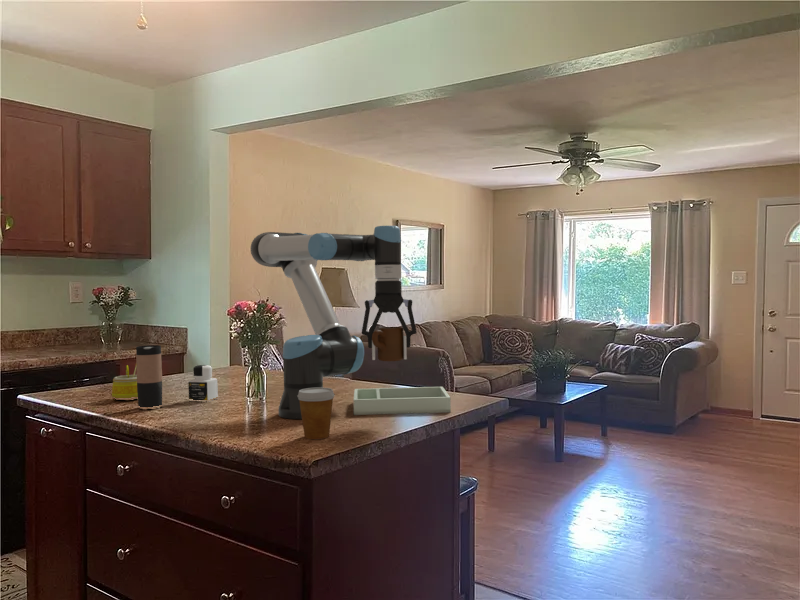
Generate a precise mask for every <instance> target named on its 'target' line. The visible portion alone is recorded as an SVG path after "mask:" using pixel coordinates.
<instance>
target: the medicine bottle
mask: <svg viewBox="0 0 800 600" xmlns="http://www.w3.org/2000/svg"><path fill="white" fill-rule="evenodd" d="M187 383H188V384H187V385H188V400H189V399H193V400H210V399H213V398H216V397H218V396H219V391H218V390H219V389H218V378H215V377H213V367H212V366H211V365H210V364H209V365H208V364H201V365H198V364H197V365H196V366H194V367H193V379H192V380H191V379H190V380H188V382H187ZM218 398H219V397H218Z"/></svg>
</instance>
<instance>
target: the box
mask: <svg viewBox="0 0 800 600" xmlns="http://www.w3.org/2000/svg"><path fill="white" fill-rule="evenodd" d="M451 402H452V401H451V396H450V395H449V393H448V392H447V391H446V389H445V388H444V386H420V387H419V386H416V387H414V386H413V387H378V388H376V387H375V388H373V387H372V388H371V387H370V388H354V391H353V415H354V416H361V415H363V416H364V415H366V416H370V415H395V414H396V415H401V414H403V415H404V414H434V413H436V414H439V413H441V414H442V413H451V411H452V410H451V409H452V408H451V407H452V406H451Z"/></svg>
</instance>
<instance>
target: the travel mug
mask: <svg viewBox="0 0 800 600" xmlns="http://www.w3.org/2000/svg"><path fill="white" fill-rule="evenodd" d="M135 348H136V349H135V351H136V352H135V354H136V355H135V356H136V357H135V358H136V363H137V367H136V375H137V393H138V399H137V404H138V405H137V406H140V407H153V406H159V405H162V406H163V370H162V368H163V367H162V366H163V364H162V363H163V361H162V346H161V345H157V344H155V345H154V344H151V345H138V346H136V347H135ZM136 363H135V364H136Z"/></svg>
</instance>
